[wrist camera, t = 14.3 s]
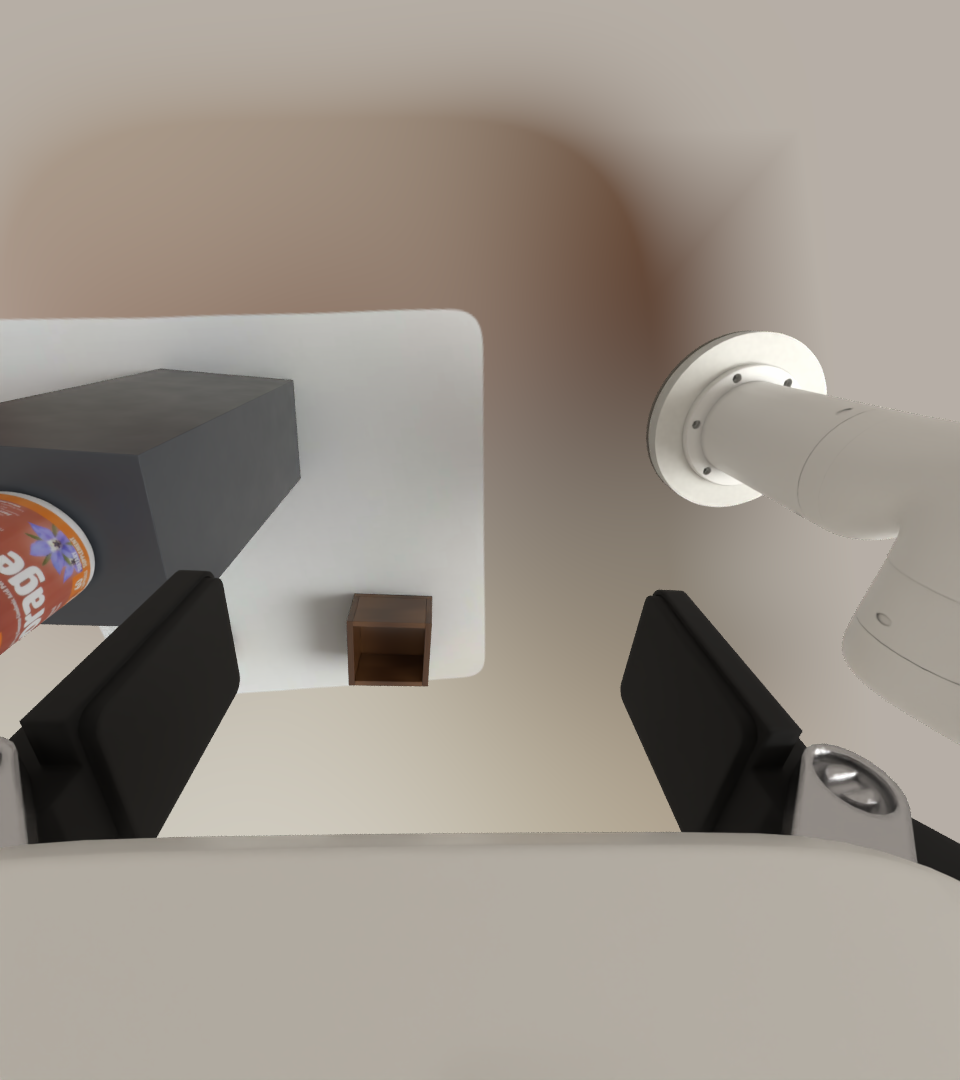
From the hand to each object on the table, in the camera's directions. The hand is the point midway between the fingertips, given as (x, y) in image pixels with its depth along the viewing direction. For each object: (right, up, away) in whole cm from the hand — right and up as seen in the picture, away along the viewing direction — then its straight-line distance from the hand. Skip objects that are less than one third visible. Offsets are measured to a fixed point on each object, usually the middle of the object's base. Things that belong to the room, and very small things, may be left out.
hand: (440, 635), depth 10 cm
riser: (-24, +13, +36) cm, 45 cm away
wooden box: (-10, -9, +48) cm, 50 cm away
